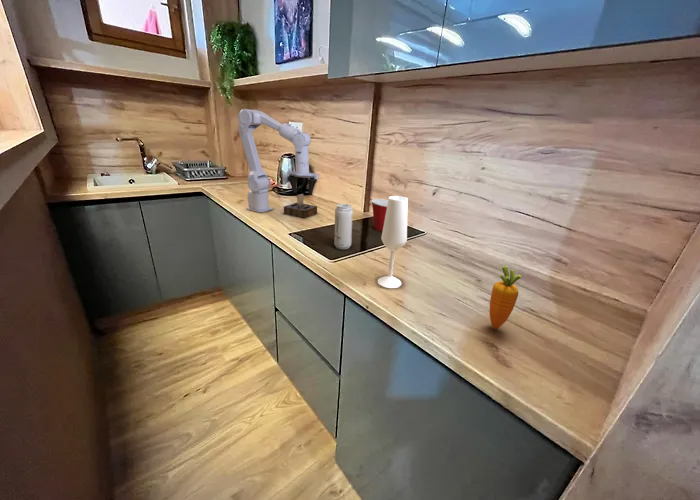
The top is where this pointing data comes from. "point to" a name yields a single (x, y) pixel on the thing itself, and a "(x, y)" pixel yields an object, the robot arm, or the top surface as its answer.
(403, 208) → the champagne flute
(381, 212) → the plastic cup
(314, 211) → the dark wooden slotted block
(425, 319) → the top surface
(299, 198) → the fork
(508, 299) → the carrot
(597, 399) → the top surface
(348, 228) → the energy drink can
